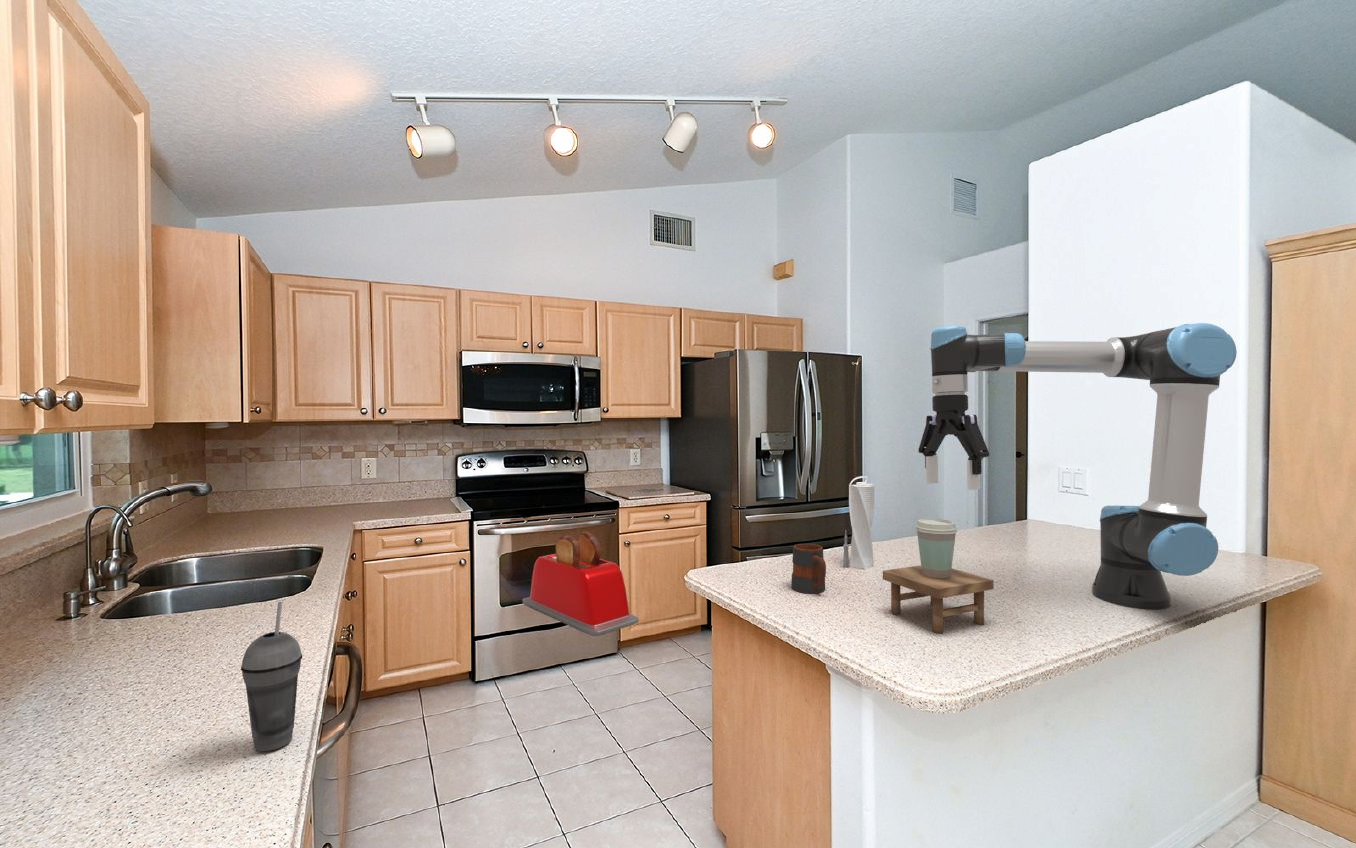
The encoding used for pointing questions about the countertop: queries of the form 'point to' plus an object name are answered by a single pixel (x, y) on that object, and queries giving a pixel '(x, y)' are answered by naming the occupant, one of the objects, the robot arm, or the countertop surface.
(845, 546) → the skyscraper
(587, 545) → the toaster
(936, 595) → the stool
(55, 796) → the countertop surface
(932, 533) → the coffee cup
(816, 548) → the mug
